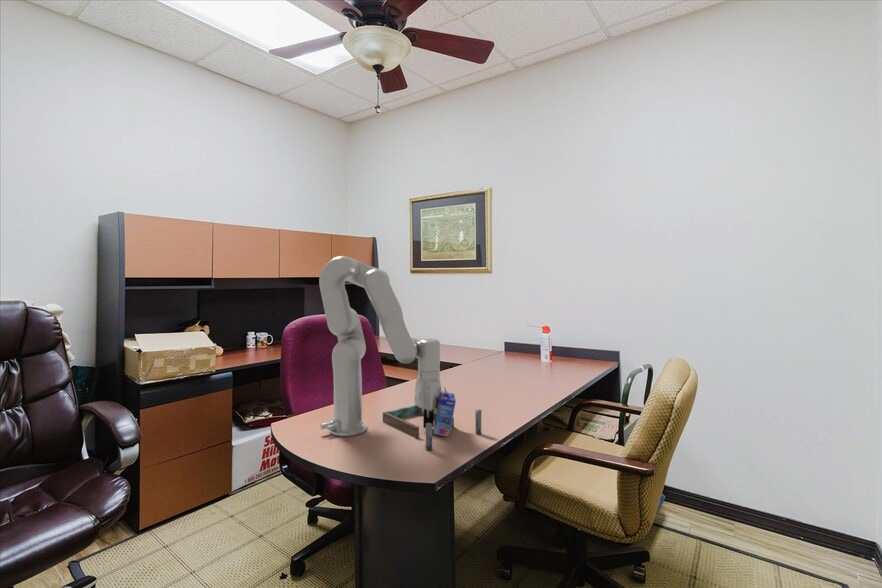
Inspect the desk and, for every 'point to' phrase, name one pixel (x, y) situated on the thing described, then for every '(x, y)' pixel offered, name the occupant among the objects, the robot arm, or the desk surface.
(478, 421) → the post right
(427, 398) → the robot arm
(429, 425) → the post left
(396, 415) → the channel
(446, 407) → the ink cartridge box
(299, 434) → the desk surface
